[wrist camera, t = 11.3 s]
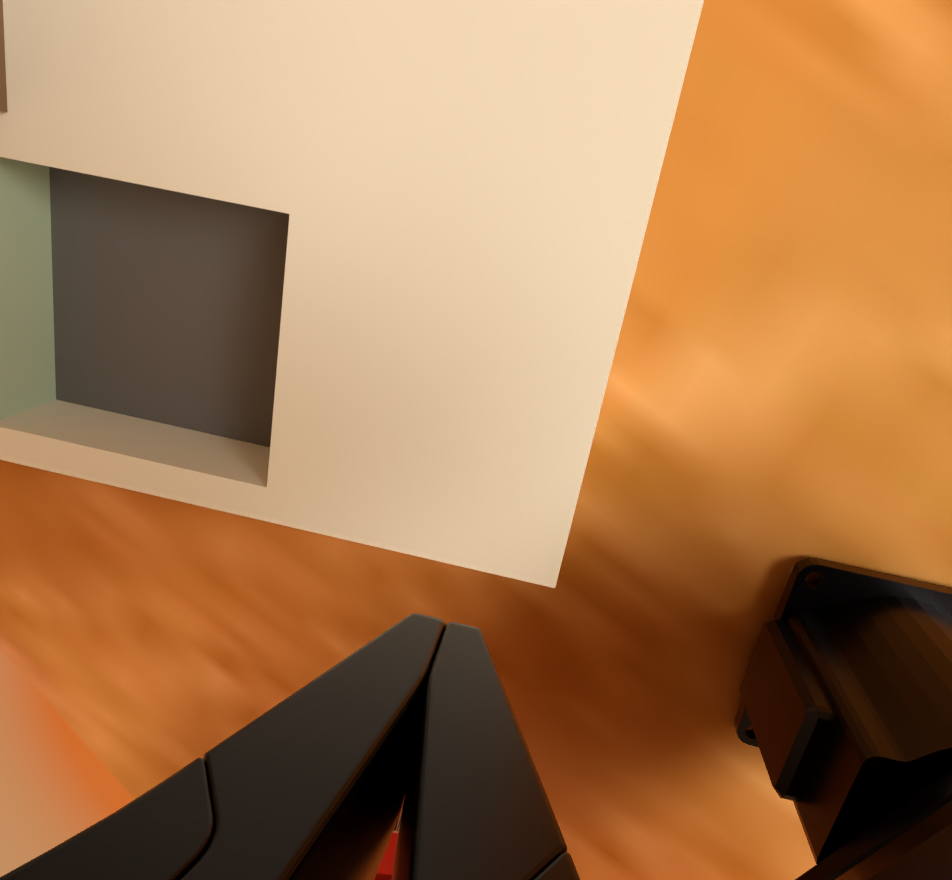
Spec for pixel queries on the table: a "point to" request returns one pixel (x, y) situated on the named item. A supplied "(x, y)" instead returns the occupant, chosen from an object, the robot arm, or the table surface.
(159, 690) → the table surface
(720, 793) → the table surface
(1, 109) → the walnut block
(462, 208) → the trap deck
